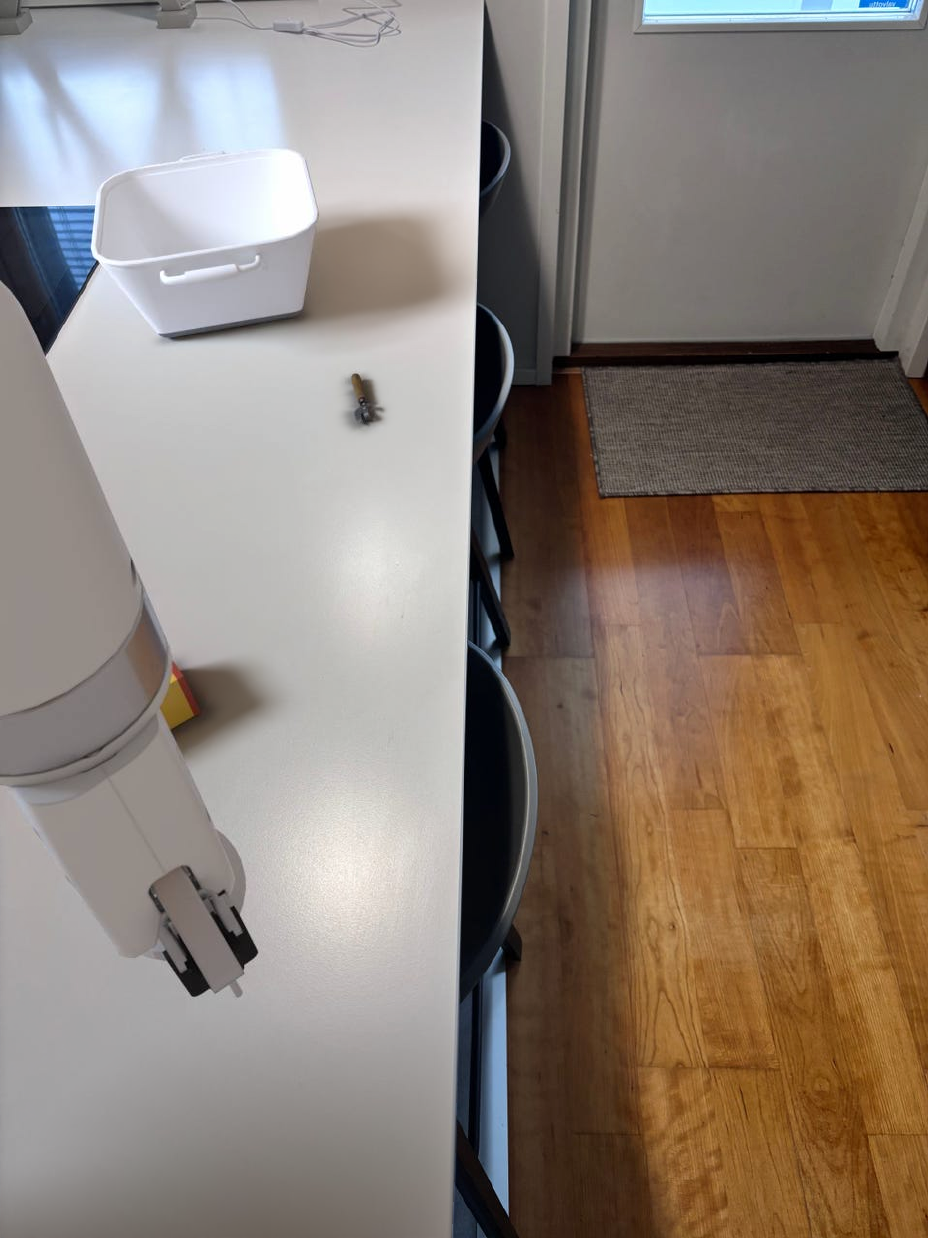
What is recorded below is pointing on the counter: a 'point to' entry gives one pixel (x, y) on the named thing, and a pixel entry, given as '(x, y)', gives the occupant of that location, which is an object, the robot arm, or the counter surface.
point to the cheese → (178, 700)
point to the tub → (209, 238)
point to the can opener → (360, 399)
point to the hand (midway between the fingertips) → (188, 910)
